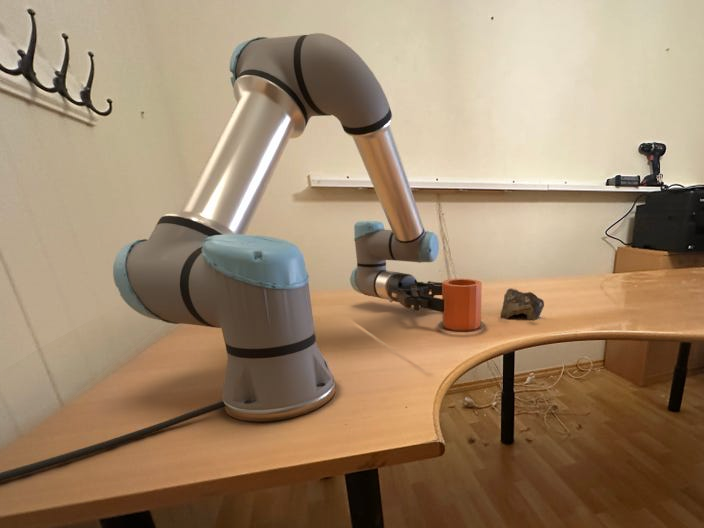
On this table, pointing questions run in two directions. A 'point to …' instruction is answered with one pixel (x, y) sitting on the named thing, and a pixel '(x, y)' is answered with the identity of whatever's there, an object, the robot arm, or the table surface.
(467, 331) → the ring stand
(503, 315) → the fossil
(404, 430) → the table surface
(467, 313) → the orange cylinder
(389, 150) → the robot arm
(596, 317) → the table surface
